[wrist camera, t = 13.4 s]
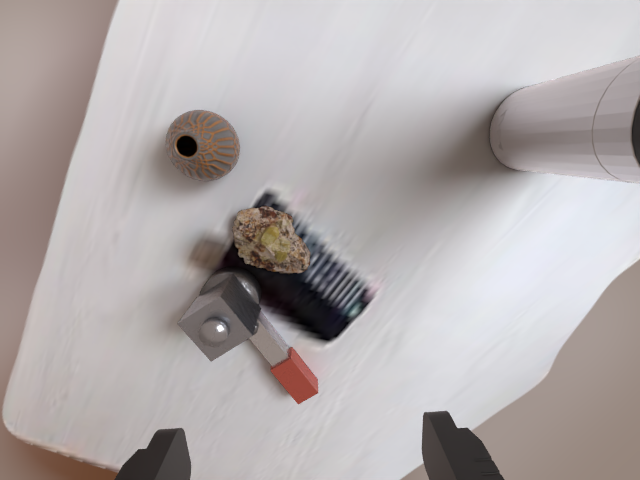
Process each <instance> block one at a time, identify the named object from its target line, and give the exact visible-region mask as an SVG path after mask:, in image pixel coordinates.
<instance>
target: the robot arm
mask: <svg viewBox="0 0 640 480" xmlns="http://www.w3.org/2000/svg"><path fill="white" fill-rule="evenodd" d="M490 143H491V148H492V150H493V152H494V154H495V156H496V157H497V159H498V160H499V161H500V162H501V163H503V164H504V165H505V166H507V167H509V168H512V169H515V170H522V171H531V172H539V173H548V174H557V175H566V176H575V177H584V178H593V179H602V180H611V181H620V182H630V183H640V56H637V57H633V58H629V59H626V60H622V61H619V62H615V63H611V64H608V65H604V66H601V67H597V68H593V69H590V70H586V71H582V72H579V73H575V74H572V75H568V76H564V77H561V78H557V79H553V80H549V81H546V82H542V83H539V84H535V85H532V86H528V87H525V88H522V89H520V90H518V91H516V92H514V93H512V94H511V95H510V96H509V97H507V98H506V99H505V100H504V101H503V103H502V104H501V105H500V106H499V108H498V109H497V111H496V113H495V115H494V117H493V120H492V122H491V127H490ZM422 455H423V461H424V465H425V469H426V472H427V474H428V477H429V480H504V479H503V477H502V475H500V473H499V470H498V468H497V466H496V465H495V463H494V462H493V461H492V459H491V456H490V455H489V453H488V451H487V449H486V448H485V446H484V444H483V443H482V441H481V440H480V439H479V438H478V437H477V436H475V435H474V434H473V433H472V432H471V431H470V430H469V429H468V428H457V427H456V425H455V423H454V421H453V419H452V417H451V416H450V414H449V413H448V412H447V411H438V412H425V413H424V415H423V432H422ZM190 475H191V461H190V456H189V452H188V447H187V442H186V437H185V433H184V430H183V429H182V428H176V429H161V430H158V431H156V433H155V434H154V436H153V438H152V440H151V441H150V443H149V445H148V447H147V449H138V450H137V451H136V452H135V454H134V455H133V456H132V457H131V458H130V459H129V460H128V461H127V462H126V463H125V464H124V465H123V466H122V468H121V469H120V471H119V473H118V475H117V476H116V478H115V480H190Z"/></svg>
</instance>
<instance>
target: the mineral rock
mask: <svg viewBox="0 0 640 480" xmlns="http://www.w3.org/2000/svg"><path fill="white" fill-rule="evenodd" d="M292 222H293V220H292V216H289V215H288V214H287V213H286V214H285V213H284V212H280V211H277V210H274V209H273V208H271V207H267V206H262V207H260V208H250V209H246V210H241V211H239V212H238V214H237V217H236V220H235V221H234V222H233V223H234V226H233V227H232V228H233V234H234V242H235V247H236V248H237V249H239V253H238V255H239V256H240V257H241V258H242V257H243V258H244V261H245V263H246V264H251V265H253V266H256V267H257V268H266V269H267V270H268V271H270V270H271V271H272V272H275V271H279V272H280V273H288V274H289V273H302V272H303V271H305V270H307V267H308V265H310V251H309V249H308V248H307V246H306V244H305V243H304V242H303V241H302V239H301V238H300V237H299V236H297V235H296V234H295V230H294V227H293V226H292Z"/></svg>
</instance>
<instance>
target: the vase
mask: <svg viewBox="0 0 640 480" xmlns="http://www.w3.org/2000/svg"><path fill="white" fill-rule="evenodd" d="M166 149H167V153H168V156H169V158H170V160H171V161H172V163H173V164H174V165H175V167H176V168H177V169H178V170H179V171H181V172H182V173H183V174H185V175H187V176H189V177H191V178H193V179H197V180H202V181H210V180H215V179H219V178H221V177H223V176H225V175H226V174H228V173H229V172H230V171H231V170H232V169H233V168H234V166H235V165H236V163H237V161H238V158H239V153H240V144H239V139H238V136H237V134H236V132H235V130H234V128H233V127H232V126H231V125H230V123H229V122H228V121H226V120H225V119H224V118H222V117H221V116H219V115H217V114H215V113H213V112H209V111H205V110H194V111H189V112H187V113H184V114H182V115H181V116H179V117H178V118H177V119H175V120H174V122H173V123H172V124H171V126H170V127H169V129H168V132H167V136H166Z"/></svg>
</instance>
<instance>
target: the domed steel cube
mask: <svg viewBox="0 0 640 480" xmlns="http://www.w3.org/2000/svg"><path fill="white" fill-rule="evenodd" d="M260 310H261V308H260V306H259V305H258V304H257V303H256V301H255V300H254V299H253V297H252V296H251V295H250V294H249V292H248V291H247V290H246V289H245V287H244V286H243V285H242V283H241V282H240V281H239V280H238V278H237V277H236V276H235V275H234V274H232V275H231V276H229V277H228V278H226V279H224V280H223V281H221V282H220V283H218V284H217V285H215V286H214V287H212V288H210V289H209V290H207V291H206V292H204V293H203V294H201V295H200V296H198V297H197V298H196V299H195V301H194V302H193V303H192V305H191V306H190V307H189V309H188V310H187V311H186V313H185V314H184V315H183V317H182V318H181V319H180V321H179V322H178V323H177V324H178V325H179V326H180V327H181V328H182V329H183V331H184V332H185V333H186V334H187V335H188V336H189V337H190V338H191V340H192V341H193V342H194V343H195V344H196V345H197V346H198V347H199V349H200V350H201V351H202V352H203V353H204V354H205V355H206V356H207V358H208V359H209V360H210V361H213V360H214V359H216V358H218V357H219V356H221V355H223V354H224V353H226V352H227V351H229V350H231V349H232V348H234V347H236V346H237V345H239V344H241V343H242V342H244V341H245V340H247V339H249V338H250V337H252V336H253V334H254V330H255V327H256V324H257V320H258V317H259V313H260Z"/></svg>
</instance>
